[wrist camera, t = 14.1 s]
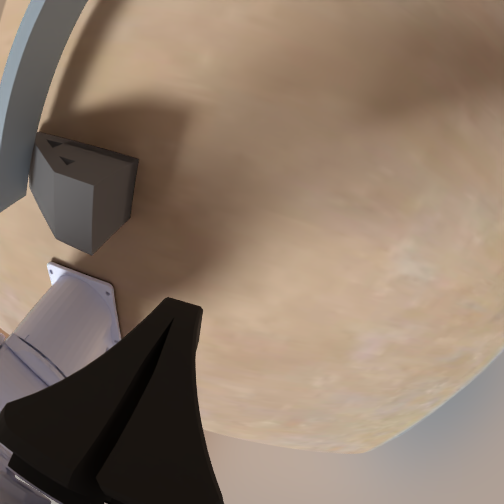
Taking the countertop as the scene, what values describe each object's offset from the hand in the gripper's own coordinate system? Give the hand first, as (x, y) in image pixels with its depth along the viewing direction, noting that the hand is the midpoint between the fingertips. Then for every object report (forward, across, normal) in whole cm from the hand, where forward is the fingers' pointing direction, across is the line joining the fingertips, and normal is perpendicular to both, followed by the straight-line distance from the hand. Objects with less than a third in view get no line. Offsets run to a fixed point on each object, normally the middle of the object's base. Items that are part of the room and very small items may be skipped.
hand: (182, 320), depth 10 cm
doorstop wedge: (+9, +12, -1) cm, 15 cm away
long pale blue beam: (+7, +14, -8) cm, 18 cm away
